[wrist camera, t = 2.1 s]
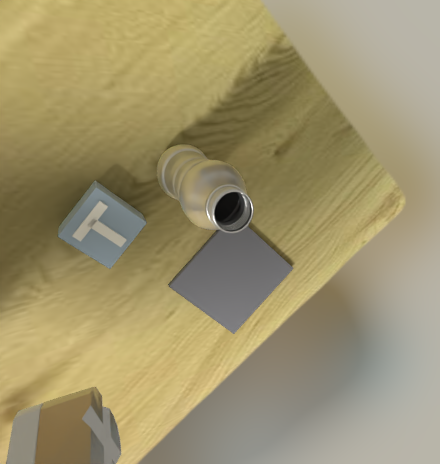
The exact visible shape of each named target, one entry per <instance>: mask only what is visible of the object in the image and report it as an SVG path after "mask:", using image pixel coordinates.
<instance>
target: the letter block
mask: <svg viewBox="0 0 440 464" xmlns="http://www.w3.org/2000/svg"><path fill="white" fill-rule="evenodd" d="M146 223H147V222H146V220H145V218H144V216H143V214H142V213H140V212H139V211H137V210H136V209H135V208H133V207H132V206H130V205H129V204H128V203H126V202H125V201H123V200H122V199H121V198H119V197H118V196H116V195H115V194H114V193H112V192H111V191H109V190H108V189H107V188H105V187H104V186H102V185H101V184H100V183H98V182H97V181H94V182H93V184H92V185H91V186H90V187H89V189H88V190H87V191H86V193H85V194H84V195H83V196H82V198H81V199H80V200H79V202H78V203H77V204H76V205H75V207H74V208H73V209H72V210H71V212H70V213H69V214H68V216H67V217H66V218H65V219H64V221H63V222H62V223H61V225H60V226H59V230H58V237H59V238H60V239H62V240H64V241H65V242H67V243H68V244H70V245H72V246H73V247H75V248H77V249H78V250H80V251H81V252H83V253H85V254H86V255H88V256H90V257H91V258H93V259H94V260H96V261H98V262H99V263H101V264H103V265H104V266H106V267H107V268H109V269H111V267H112V266H113V265H114V264H115V262H116V261H117V260H118V259H119V257H120V256H121V255H122V254H123V252H124V251H125V250H126V249H127V247H128V246H129V245H130V244H131V242H132V241H133V240H134V239H135V237H136V236H137V235H138V234H139V232H140V231H141V230H142V228H143V227H144V226H145V225H146Z"/></svg>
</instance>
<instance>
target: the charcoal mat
mask: <svg viewBox="0 0 440 464" xmlns="http://www.w3.org/2000/svg"><path fill="white" fill-rule="evenodd" d="M292 269H293V267H292V266H290V265H289V264H288V263H287V262H286V261H285V260H284V259H283V258H282V257H281V256H280V255H279V254H277V253H276V252H275V251H274V250H273V249H272V248H271V247H270V246H269V245H268V244H267V243H265V242H264V241H263V240H262V239H261V238H260V237H259V236H258V235H257V234H256V233H255V232H254V231H252V230H251V229H250V228H249V227H248V226H247V227H246V228H245V229H243V230H242V231H240V232H237V233H226V232H224V231H221V230H220V229H219V230H217V231H216V232H215V233H214V234H213V235H212V237H211V238H210V239H209V240H208V241H207V242H206V243H205V244H204V245H203V247H202V248H201V249H200V250H199V251H198V252H197V253H196V254H195V255H194V257H193V258H192V259H191V260H190V261H189V262H188V263H187V264H186V265H185V267H184V268H183V269H182V270H181V271H180V272H179V273H178V274H177V275H176V277H175V278H174V279H173V280H172V281H171V282H170V283H169V284H168V285H169V287H170V288H172V289H173V290H174V291H176V292H177V293H179V294H180V295H181V296H183V297H184V298H185V299H187V300H188V301H189V302H191V303H192V304H194V305H195V306H196V307H198V308H199V309H200V310H202V311H203V312H205V313H206V314H207V315H209V316H210V317H211V318H213V319H214V320H215V321H217V322H218V323H220V324H221V325H222V326H224V327H225V328H226V329H228V330H229V331H230V332H232V333H233V334H234V333H235V332H236V331H237V330H238V329H239V328H240V327H241V326H242V324H243V323H244V322H245V321H246V320H247V319H248V318H249V317H250V316H251V315H252V313H253V312H254V311H255V310H256V309H257V308H258V307H259V306H260V305H261V304H262V302H263V301H264V300H265V299H266V298H267V297H268V296H269V295H270V294H271V293H272V291H273V290H274V289H275V288H276V287H277V286H278V285H279V284H280V283H281V282H282V280H283V279H284V278H285V277H286V276H287V275H288V274H289V273H290V272H291V271H292Z"/></svg>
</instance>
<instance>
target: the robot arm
mask: <svg viewBox="0 0 440 464" xmlns="http://www.w3.org/2000/svg"><path fill="white" fill-rule="evenodd" d="M120 455H121V445H120V437H119V432H118V427H117V424H116V421H115V419H114V416H113V414H112V412H111V410H110V409H109V408H106V407H103V406H102V395H101V394H100V392H99V391H98V389H97V388H96V387H92V388H88V389H85V390H82V391H79V392H76V393H72V394H69V395H66V396H63V397H60V398H56V399H53V400H50V401H47V402H44V403H41V404H38V405H35V406H32V407H29V408H26V409H23V410H19V411H18V413H17V414H16V416H15V418H14V420H13V426H12V432H11V438H10V444H9V449H8V455H7V461H6V464H116V463H117V461H118V459H119V457H120Z"/></svg>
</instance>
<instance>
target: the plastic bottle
mask: <svg viewBox="0 0 440 464" xmlns="http://www.w3.org/2000/svg"><path fill="white" fill-rule="evenodd" d="M157 178H158V182H159V185H160V186H161V188H162V190H163V191H164V192H165V193H166V194H167V195H169V196H170V197H172V198H174V199H176V200H179V201H180V204H181V207H182V210H183V211H184V213H185V215H186V216H187V218H188V219H189V220H190V221H191V222H192V223H193V224H195V225H196V226H198V227H200V228H203V229H208V230H219V229H220V230H221V231H224V232H226V233H237V232H240V231H242V230H243V229H245V228H246V227H247V226H248V224H249V223H250V221H251V219H252V217H253V211H254V209H253V203H252V201H251V199H250V197H249V196H248V195H247V189H246V186H245V183H244V180H243V178H242V176H241V174H240V173H239V172H238V170H237V169H235V168H234V167H233V166H232V165H230V164H228V163H226V162H223V161H219V160H208V158H207V157H206V156H205V155H204V153H203V152H202V151H201V150H199V149H198V148H196V147H194V146H192V145H188V144H180V145H175V146H173V147H170V148H169V149H167V150H166V151H165V152H164V153H163V154H162V156H161V157H160V159H159V161H158V165H157Z"/></svg>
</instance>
